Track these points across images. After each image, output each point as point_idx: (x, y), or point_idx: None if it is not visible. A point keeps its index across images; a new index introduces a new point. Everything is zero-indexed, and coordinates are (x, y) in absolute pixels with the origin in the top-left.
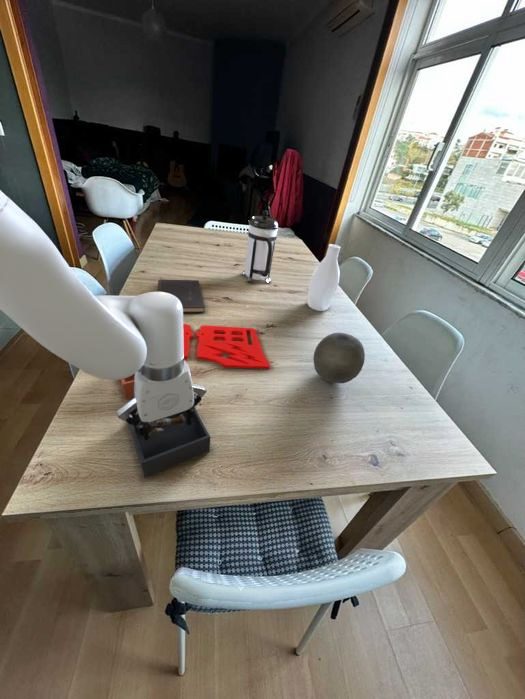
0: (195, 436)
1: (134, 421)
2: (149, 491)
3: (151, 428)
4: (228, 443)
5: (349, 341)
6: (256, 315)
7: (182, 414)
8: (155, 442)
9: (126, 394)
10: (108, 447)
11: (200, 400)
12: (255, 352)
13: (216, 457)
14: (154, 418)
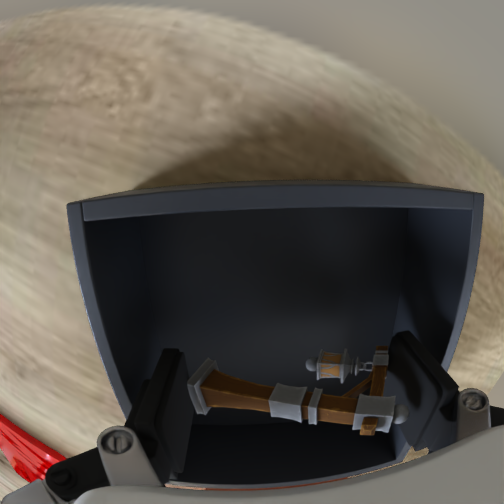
0: (165, 289)
1: (499, 425)
2: (407, 124)
3: (382, 383)
4: (55, 203)
5: None
6: (25, 485)
7: (196, 411)
8: (338, 321)
9: (343, 479)
10: None
11: (52, 468)
12: (3, 441)
13: (112, 152)
14: (484, 459)
